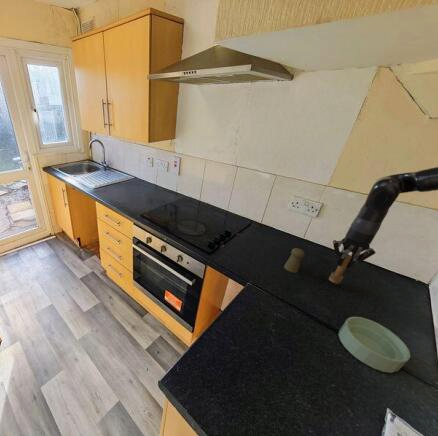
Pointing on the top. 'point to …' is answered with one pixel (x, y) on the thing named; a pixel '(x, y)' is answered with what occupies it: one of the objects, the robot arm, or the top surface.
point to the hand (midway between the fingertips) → (343, 265)
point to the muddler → (340, 271)
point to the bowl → (374, 344)
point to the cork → (294, 260)
